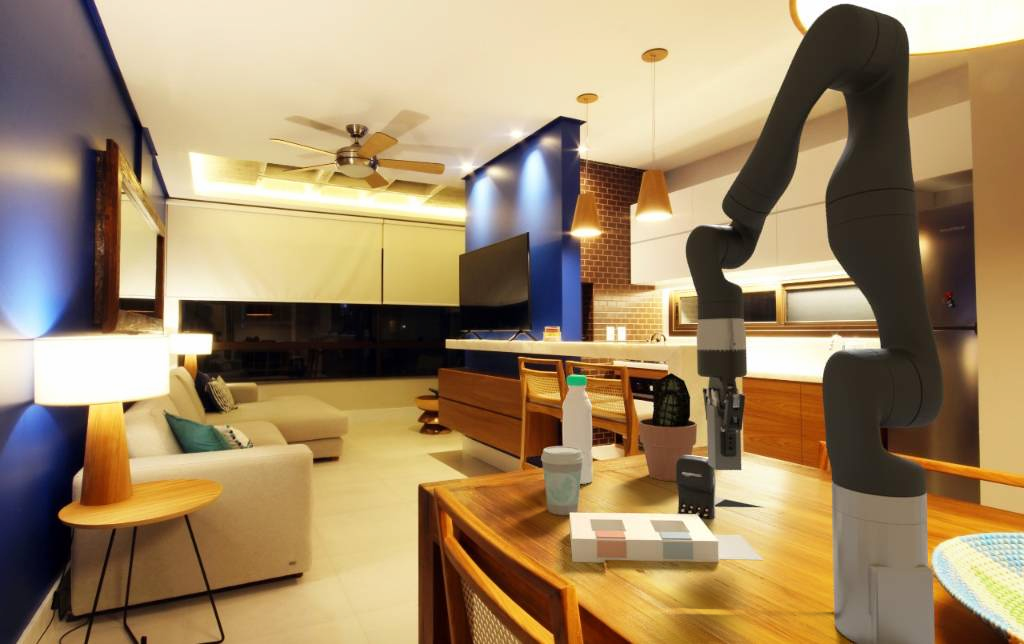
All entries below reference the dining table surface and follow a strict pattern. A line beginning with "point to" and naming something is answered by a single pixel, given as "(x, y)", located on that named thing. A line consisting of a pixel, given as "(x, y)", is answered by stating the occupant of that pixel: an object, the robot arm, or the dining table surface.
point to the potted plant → (668, 428)
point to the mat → (735, 548)
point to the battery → (696, 486)
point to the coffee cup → (562, 478)
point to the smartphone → (731, 503)
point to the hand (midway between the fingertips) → (723, 452)
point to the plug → (714, 443)
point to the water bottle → (578, 423)
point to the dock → (641, 537)
